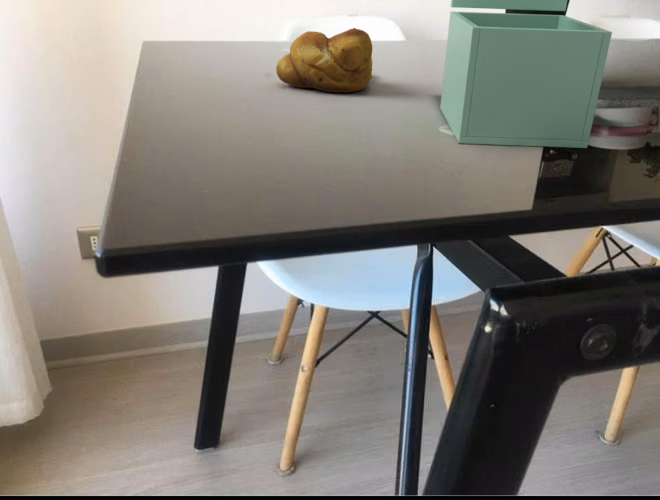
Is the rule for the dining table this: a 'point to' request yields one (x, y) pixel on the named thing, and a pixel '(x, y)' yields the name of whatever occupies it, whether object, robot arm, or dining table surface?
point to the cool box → (522, 78)
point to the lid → (512, 4)
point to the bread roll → (328, 61)
